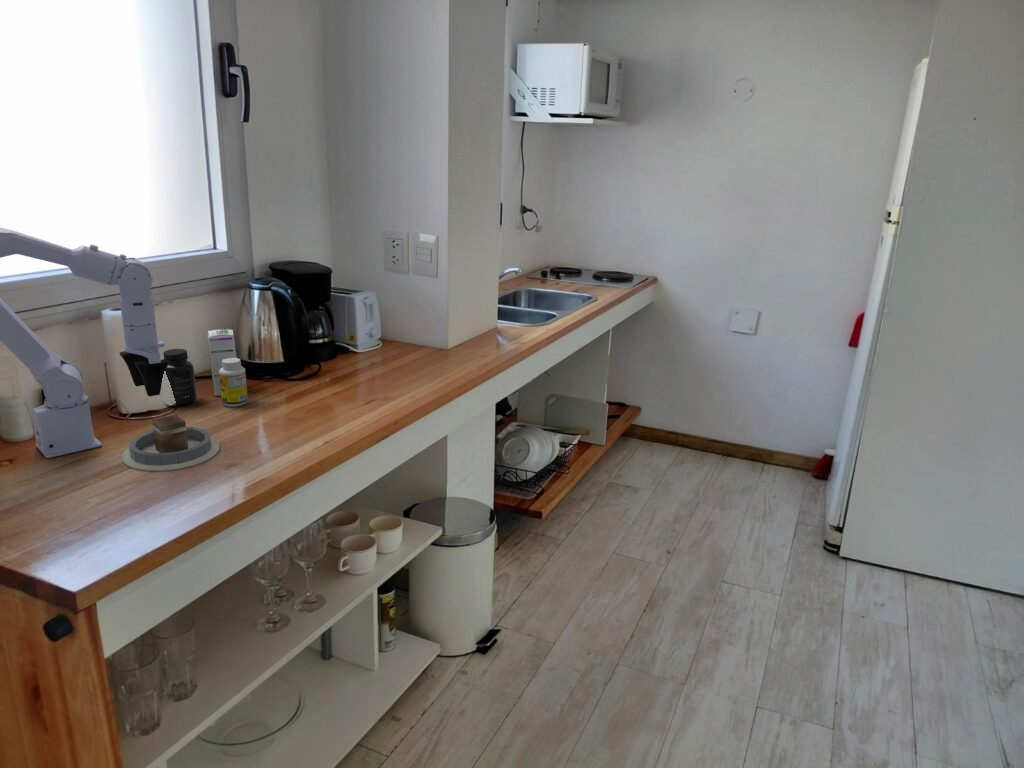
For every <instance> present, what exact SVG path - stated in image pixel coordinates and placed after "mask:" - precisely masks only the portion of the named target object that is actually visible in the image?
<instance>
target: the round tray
mask: <svg viewBox="0 0 1024 768" xmlns="http://www.w3.org/2000/svg"><path fill="white" fill-rule="evenodd" d="M186 428H187V430H186V431H187V440H188V449H185V450H181V451H177V452H169V453H159V452H158V451H157V450H156V448H155V440H154V432H153V430H150V431H147V432H145V433H142V434H140V435H138V436H136V437H135V438H134V439H132V440H131V441H130V442H129V446H128V448H127V449H125V450H124V451H123V453H122V456H121V460H122V463H123V464H124V465H125V466H127V467H128V468H131V469H134V470H137V471H144V472H168V471H169V472H170V471H176V470H181V469H187V468H191V467H194V466H197V465H200V464H204V463H205V462H207V461H209V460H212V459H213V458H214V457H215V456H216V455H217V454H219V451H220V449H221V448H220V447H221V446H220V445H221V444H220V442H219V440H217V439H215V438H214V437H212V436H211V433H210V432H209V431H207V430H206V429H203V428H200V427H199V428H198V427H193V426H192V427H191V426H186Z"/></svg>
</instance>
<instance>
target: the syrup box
mask: <svg viewBox="0 0 1024 768" xmlns="http://www.w3.org/2000/svg"><path fill="white" fill-rule="evenodd" d="M235 341H236V340H235V335H234V330H233V328H226V329H225V328H220V329H212V330H208V331H207V344H208V351H209V361H210V362H209V363H210V369H211V370H210V371H211V378H212V387H213V395H214V397H217V396H218V397H219V396H220V397H221V389H220V378H219V370H220V369H221V368H222V360H223V359H227V358H238V355H237V349H236V342H235Z"/></svg>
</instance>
